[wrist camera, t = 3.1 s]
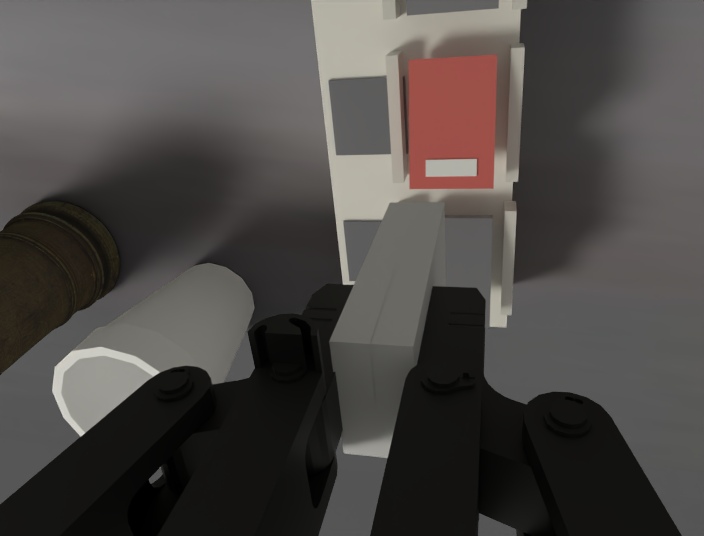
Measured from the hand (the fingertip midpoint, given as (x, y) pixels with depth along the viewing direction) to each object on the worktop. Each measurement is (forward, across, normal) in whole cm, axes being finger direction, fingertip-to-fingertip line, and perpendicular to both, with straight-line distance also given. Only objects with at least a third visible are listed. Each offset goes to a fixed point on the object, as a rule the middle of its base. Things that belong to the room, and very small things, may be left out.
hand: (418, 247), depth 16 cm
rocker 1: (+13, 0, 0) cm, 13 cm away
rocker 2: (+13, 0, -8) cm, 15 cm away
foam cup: (+21, -19, -15) cm, 32 cm away
